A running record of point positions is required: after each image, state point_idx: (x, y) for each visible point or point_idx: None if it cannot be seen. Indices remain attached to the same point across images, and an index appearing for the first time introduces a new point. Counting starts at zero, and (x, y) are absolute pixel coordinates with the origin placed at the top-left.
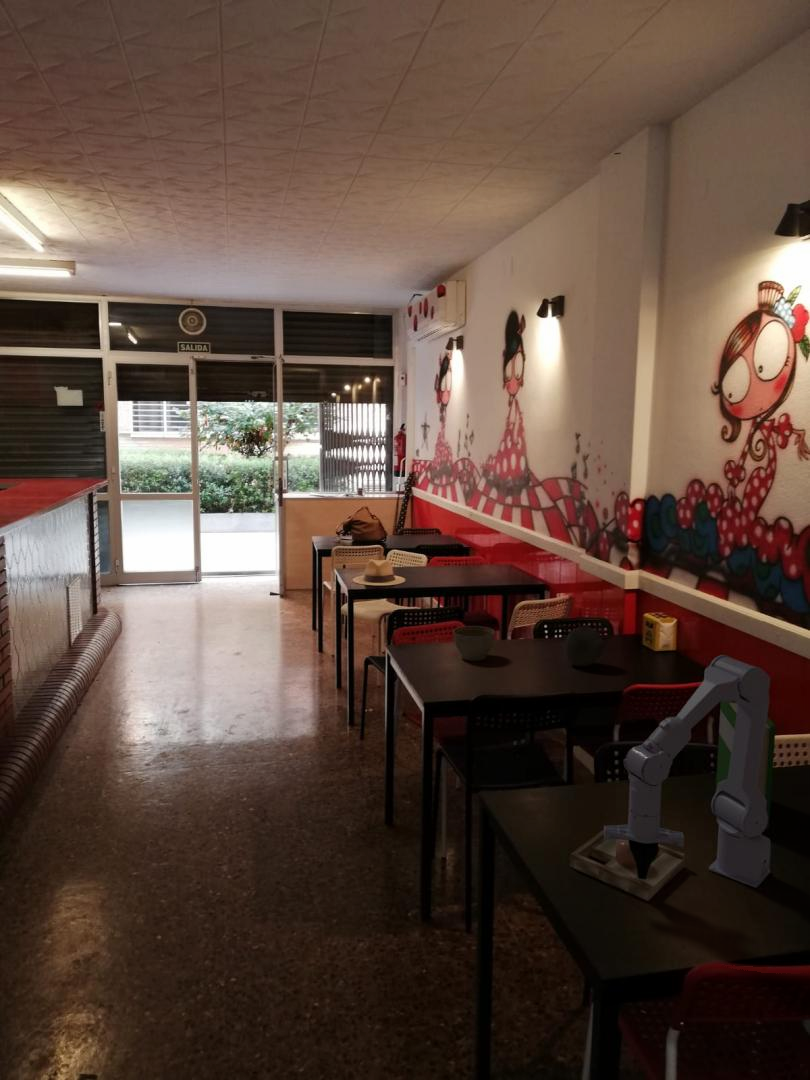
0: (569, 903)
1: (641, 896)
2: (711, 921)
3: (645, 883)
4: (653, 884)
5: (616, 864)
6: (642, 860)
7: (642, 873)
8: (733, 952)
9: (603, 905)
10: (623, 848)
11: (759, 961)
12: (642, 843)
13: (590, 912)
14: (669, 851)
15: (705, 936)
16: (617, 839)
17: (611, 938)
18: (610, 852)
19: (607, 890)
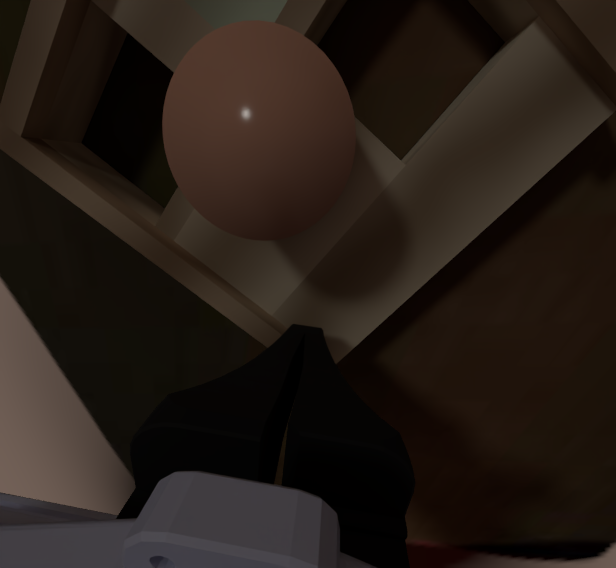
0: (92, 362)
1: None
2: (489, 439)
3: None
4: (354, 338)
5: None
6: (276, 468)
7: (296, 391)
8: (478, 528)
9: (185, 371)
10: (213, 219)
11: (525, 552)
12: (295, 400)
13: (151, 397)
14: (577, 35)
15: (436, 484)
16: (172, 97)
17: None
18: None
19: (199, 300)
